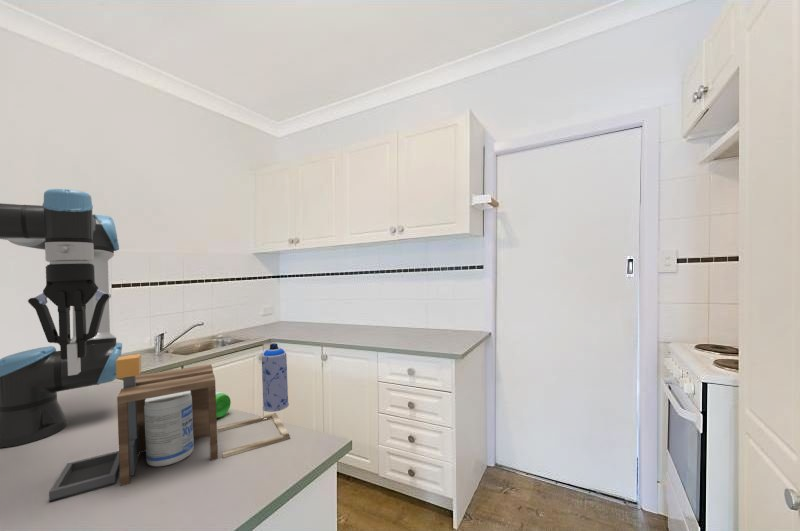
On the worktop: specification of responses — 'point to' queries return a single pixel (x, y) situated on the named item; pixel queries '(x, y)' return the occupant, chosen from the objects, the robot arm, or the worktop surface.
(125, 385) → the slider
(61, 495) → the tray
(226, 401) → the speaker
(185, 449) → the supplement tub
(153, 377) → the walnut tunnel
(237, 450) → the frame
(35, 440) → the robot arm
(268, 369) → the aerosol can
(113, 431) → the worktop surface
